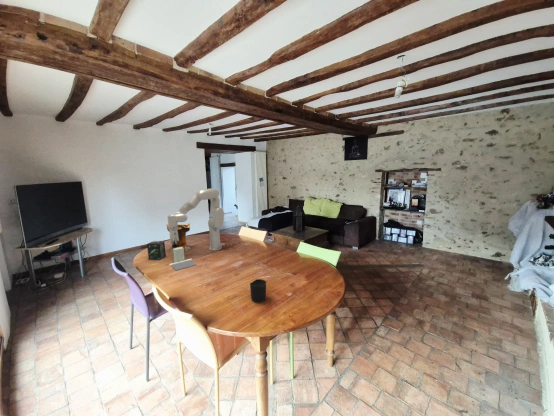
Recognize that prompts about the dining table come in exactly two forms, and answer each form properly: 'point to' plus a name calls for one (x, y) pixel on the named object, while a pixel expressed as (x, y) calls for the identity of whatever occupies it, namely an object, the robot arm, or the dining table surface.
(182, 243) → the decorative vase
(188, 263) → the mat
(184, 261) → the rail
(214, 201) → the robot arm
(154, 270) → the dining table surface
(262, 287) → the pen holder
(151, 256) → the tampon box
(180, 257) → the sage block
